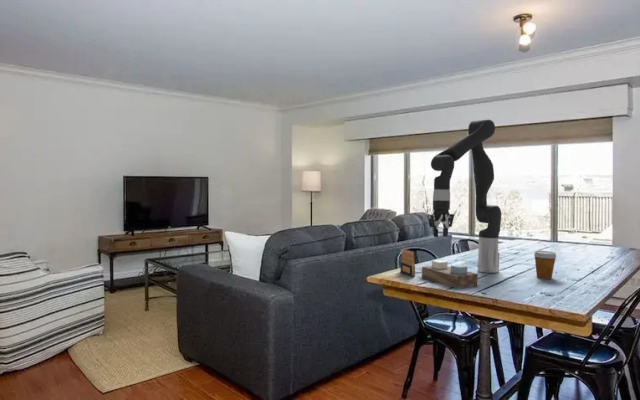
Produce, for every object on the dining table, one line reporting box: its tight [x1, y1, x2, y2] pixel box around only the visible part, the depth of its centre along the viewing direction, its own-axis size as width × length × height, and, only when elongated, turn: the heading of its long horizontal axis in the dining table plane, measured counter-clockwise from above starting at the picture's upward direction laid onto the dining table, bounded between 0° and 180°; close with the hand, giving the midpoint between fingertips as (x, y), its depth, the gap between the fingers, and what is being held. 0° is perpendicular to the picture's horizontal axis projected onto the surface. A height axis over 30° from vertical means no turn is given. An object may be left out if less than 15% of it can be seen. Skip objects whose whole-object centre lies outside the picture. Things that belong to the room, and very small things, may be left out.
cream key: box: [431, 259, 448, 269], centre depth 200 cm, size 5×5×4 cm
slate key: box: [450, 264, 468, 275], centre depth 189 cm, size 5×5×4 cm
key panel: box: [421, 265, 479, 289], centre depth 195 cm, size 12×22×5 cm, turn 27°
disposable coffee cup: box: [533, 250, 557, 280], centre depth 205 cm, size 10×10×12 cm
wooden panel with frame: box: [399, 247, 416, 278], centre depth 208 cm, size 11×2×12 cm, turn 18°
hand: (440, 236), depth 199 cm, fingers open, 5 cm apart
